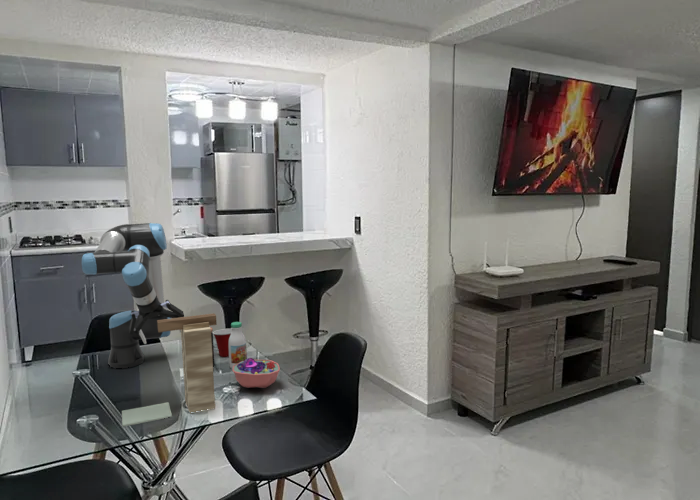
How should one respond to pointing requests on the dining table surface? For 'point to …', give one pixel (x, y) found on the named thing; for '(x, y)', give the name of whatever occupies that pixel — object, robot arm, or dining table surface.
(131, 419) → the mat
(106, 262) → the robot arm
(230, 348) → the milk bottle
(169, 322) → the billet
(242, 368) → the cell model
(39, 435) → the dining table surface
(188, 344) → the wooden block tower
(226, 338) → the plastic cup
